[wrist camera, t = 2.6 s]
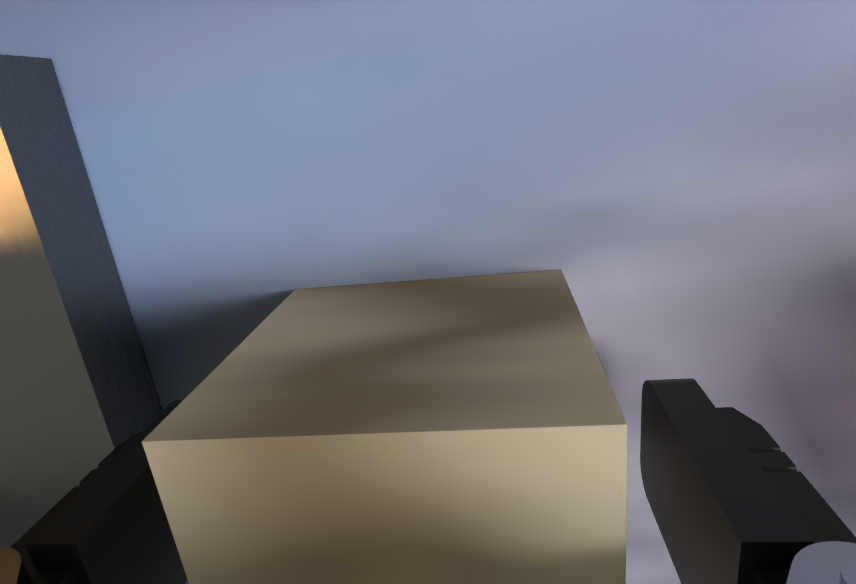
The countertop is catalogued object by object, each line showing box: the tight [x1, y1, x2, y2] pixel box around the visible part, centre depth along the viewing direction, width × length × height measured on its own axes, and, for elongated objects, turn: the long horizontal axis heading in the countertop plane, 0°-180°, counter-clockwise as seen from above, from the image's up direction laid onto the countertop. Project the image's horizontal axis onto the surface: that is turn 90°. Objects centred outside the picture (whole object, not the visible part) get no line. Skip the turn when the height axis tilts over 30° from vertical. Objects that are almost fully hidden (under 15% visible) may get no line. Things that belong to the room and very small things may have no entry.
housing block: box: [142, 270, 627, 584], centre depth 9 cm, size 5×5×5 cm
